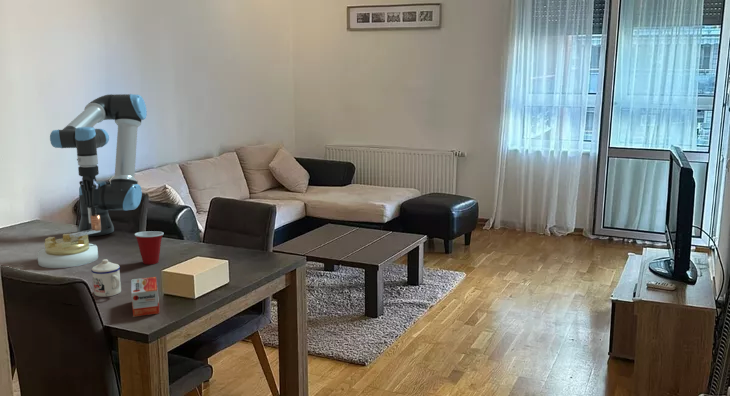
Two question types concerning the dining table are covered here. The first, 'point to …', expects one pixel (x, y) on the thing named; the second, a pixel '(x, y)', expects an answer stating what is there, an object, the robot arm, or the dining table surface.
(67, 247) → the ring nut
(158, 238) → the plastic cup
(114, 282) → the teacup with lid
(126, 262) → the dining table surface
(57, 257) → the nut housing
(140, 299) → the medicine box
